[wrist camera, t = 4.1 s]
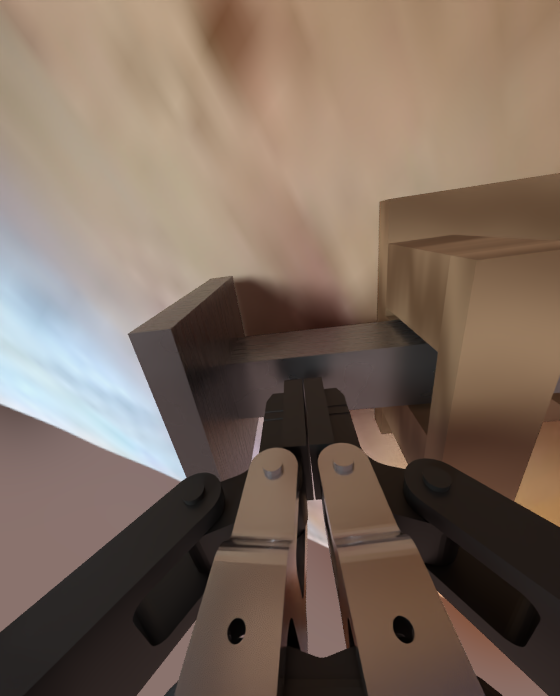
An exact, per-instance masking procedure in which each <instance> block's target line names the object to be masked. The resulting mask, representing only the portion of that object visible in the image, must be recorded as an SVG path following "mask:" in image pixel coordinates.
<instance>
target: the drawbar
mask: <svg viewBox="0 0 560 696" xmlns="http://www.w3.org/2000/svg"><path fill="white" fill-rule="evenodd" d="M128 335H129V338H130V340H131V343H132V345H133V348H134V350H135V352H136V355H137V357H138V360H139V362H140V365H141V367H142V370H143V372H144V375H145V377H146V379H147V382H148V384H149V387H150V389H151V392H152V394H153V397H154V399H155V401H156V404H157V406H158V409H159V411H160V414H161V416H162V419H163V421H164V424H165V426H166V428H167V431H168V433H169V436H170V438H171V441H172V443H173V446H174V448H175V450H176V453H177V455H178V458H179V460H180V463H181V465H182V468H183V470H184V473H185V475H186V477H187V478H188V477H189V476H192V475H194V474H197V473H211V474H213V475H215V476H216V477H217V478H218V479H219V481H220V482H221V481H224V480H227V479H229V478H232V477H235V476H237V475H240V474H242V473H244V472H245V471H247V470H248V469H249V466H250V464H251V460H252V454H253V448H254V442H255V436H256V430H257V425H258V419H259V417H264V415H265V408H266V402H267V401H268V399H269V398H270V397H271V395H272V394H276V393H284V380H292V379H302V382H303V390H304V378H312V377H322V382H323V387H324V389H328V388H337V389H338V390H339V391H340V392H341V393H343V394H344V396H345V399H346V402H347V406H348V409H349V410H355V409H367V408H379V407H392V406H404V405H416V404H428V403H431V402H432V394H433V386H434V379H435V371H436V363H437V356H438V352H437V351H436V350H435V349H434V348H433V347H431V346H430V345H429V344H428V343H427V342H426V341H424V340H423V339H422V338H421V337H420V336H419V335H417V334H416V333H415V332H414V331H413V330H412V329H411V328H409V327H408V326H407V325H406V324H405V323H404V322H402V321H401V320H391V321H382V322H373V323H364V324H355V325H346V326H337V327H328V328H319V329H310V330H301V331H292V332H283V333H274V334H266V335H257V336H248V337H245V334H244V329H243V324H242V320H241V315H240V310H239V305H238V300H237V295H236V291H235V286H234V281H233V276H228V277H221V278H213V279H210V280H208V281H207V282H205V283H204V284H202V285H201V286H199V287H198V288H196V289H195V290H193V291H192V292H190V293H189V294H187V295H186V296H184V297H183V298H181V299H180V300H178V301H177V302H175V303H174V304H172V305H171V306H169V307H168V308H166V309H165V310H163V311H162V312H160V313H159V314H157V315H156V316H154V317H153V318H151V319H150V320H148V321H147V322H145V323H144V324H142V325H141V326H139V327H138V328H136V329H134V330H133V331H131V332H130V333H128ZM554 393H560V376H559V379H558V382H557V384H556V387H555V390H554ZM304 398H305V390H304ZM305 406H306V403H305Z"/></svg>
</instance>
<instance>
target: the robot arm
mask: <svg viewBox="0 0 560 696" xmlns="http://www.w3.org/2000/svg"><path fill="white" fill-rule="evenodd" d="M304 390H305V398H304ZM304 390H303V382H302V379H292V380H284V393H276V394H272V395H271V397H270V398H269V399H268V401H267V402H266V408H265V415H264V422H263V429H262V436H261V443H260V451H259V454H258V455H257V456H256V457H255V458H254V459H253V460H252V462H251V464H250V466H249V469H248V470H247V471H245V472H244V473H242V474H240V475H237V476H235V477H232V478H229V479H227V480H224V481H221V482H220V481H219V479H218V478H217V477H216V476H215V475H213V474H211V473H197V474H194V475H192V476H189V477H188V478H186V479H184V480H183V481H182V482H180V483H179V484H178V485H177V486H176V487H175V488H173V489H172V490H171V491H170V492H168V493H167V494H166V495H165V496H164V497H162V498H161V499H160V500H159V501H158V502H156V503H155V504H154V505H153V506H152V507H150V508H149V509H148V510H147V511H146V512H144V513H143V514H142V515H141V516H140V517H138V518H137V519H136V520H135V521H134V522H132V523H131V524H130V525H129V526H128V527H126V528H125V529H124V530H123V531H122V532H120V533H119V534H118V535H117V536H116V537H114V538H113V539H112V540H111V541H109V542H108V543H107V544H106V545H105V546H103V547H102V548H101V549H100V550H99V551H98V552H96V553H95V554H94V555H93V556H91V557H90V558H89V559H88V560H87V561H86V562H84V563H83V564H82V565H81V566H79V567H78V568H77V569H76V570H75V571H74V572H72V573H71V574H70V575H69V576H67V577H66V578H65V579H64V580H63V581H62V582H60V583H59V584H58V585H57V586H55V587H54V588H53V589H52V590H51V591H49V592H48V593H47V594H46V595H45V596H43V597H42V598H41V599H40V600H39V601H37V602H36V603H35V604H34V605H33V606H31V607H30V608H29V609H28V610H27V611H25V612H24V613H23V614H22V615H21V616H19V617H18V618H17V619H16V620H15V621H13V622H12V623H11V624H10V625H9V626H7V627H6V628H5V629H4V630H3V631H1V632H0V696H137V694H138V693H139V692H140V690H141V689H142V688H143V686H144V685H145V684H146V683H147V681H148V680H149V679H150V678H151V676H152V675H153V674H154V673H155V671H156V670H157V669H158V668H159V666H160V665H161V664H162V662H163V661H164V660H165V659H166V657H167V656H168V655H169V653H170V652H171V651H172V650H173V648H174V647H175V646H176V645H177V643H178V642H179V641H180V640H181V638H182V637H183V636H184V634H185V633H186V632H187V631H188V629H189V628H190V627H191V625H192V624H193V623H194V622H195V620H196V622H195V626H194V629H193V632H192V636H191V639H190V643H189V646H188V650H187V653H186V656H185V660H184V663H183V667H182V670H181V673H180V677H179V680H178V682H177V683H176V684H174V685H173V687H172V688H170V689H169V691H168V692H167V693H166V694H165V695H164V696H502V695H501V694H500V693H499V692H498V691H496V690H495V689H494V688H492V687H491V686H490V685H489V684H487V683H486V682H485V681H484V680H482V679H481V678H479V677H478V676H476V674H475V672H474V670H473V668H472V666H471V664H470V661H469V659H468V657H467V655H466V653H465V651H464V648H463V646H462V644H461V642H460V640H459V638H458V635H457V633H456V631H455V629H454V627H453V625H452V622H451V620H450V618H449V616H448V614H447V612H446V610H445V607H444V605H443V603H442V601H441V599H440V596H439V594H438V592H439V593H440V594H441V595H442V596H443V597H444V598H445V599H447V600H448V601H449V602H450V603H451V604H452V605H453V606H454V607H455V608H456V609H457V610H458V611H459V612H460V613H461V614H462V615H464V616H465V617H466V618H467V619H468V620H469V621H470V622H471V623H472V624H473V625H474V626H475V627H476V628H477V629H478V630H479V631H480V632H482V633H483V634H484V635H485V636H486V637H487V638H488V639H489V640H490V641H491V642H492V643H494V645H495V646H496V647H498V648H499V649H500V650H501V651H502V652H503V653H504V654H505V655H506V656H507V657H508V658H509V659H510V660H511V661H512V662H513V663H514V664H515V665H517V666H518V667H519V668H520V669H521V670H522V671H523V672H524V673H525V674H526V675H527V676H528V677H529V678H530V679H531V680H532V681H534V682H535V683H536V684H537V685H538V686H539V687H540V688H541V689H542V690H543V691H544V692H545V693H546V694H547V695H548V696H560V527H558V526H556V525H555V524H553V523H551V522H549V521H548V520H546V519H544V518H542V517H541V516H539V515H537V514H535V513H533V512H532V511H530V510H528V509H526V508H525V507H523V506H521V505H519V504H518V503H516V502H514V501H512V500H511V499H509V498H507V497H505V496H503V495H502V494H500V493H498V492H496V491H495V490H493V489H491V488H489V487H488V486H486V485H484V484H482V483H481V482H479V481H477V480H475V479H473V478H472V477H470V476H468V475H466V474H465V473H463V472H461V471H459V470H458V469H456V468H454V467H452V466H451V465H449V464H447V463H444V462H442V461H439V460H435V459H429V458H423V459H417V460H414V461H412V462H411V463H409V464H408V465H407V467H406V469H402V468H397V467H392V466H387V465H384V464H381V463H378V462H376V461H374V460H373V459H371V458H370V457H368V456H367V455H366V454H365V452H364V451H363V450H362V449H361V447H360V444H359V441H358V438H357V434H356V431H355V428H354V425H353V422H352V418H351V415H350V412H349V409H348V406H347V402H346V399H345V396H344V394H343V393H341V392H340V391H339V390H338V389H337V388H328V389H324V387H323V382H322V377H312V378H304ZM305 403H306V406H305ZM310 457H311V461H310ZM311 465H312V473H313V481H314V489H315V497H316V500H317V499H322V505H323V514H324V522H325V530H326V535H327V540H328V546H329V551H330V557H331V562H332V567H333V573H334V577H335V584H336V589H337V594H338V600H339V606H340V611H341V617H342V625H343V630H344V637H345V643H346V649H345V650H343V651H340V652H338V653H336V654H333V655H331V656H328V657H325V658H319V657H315V656H313V655H310V654H308V634H307V633H308V632H307V615H306V578H307V520H308V510H307V500H314V497H313V485H312V473H311ZM437 591H438V592H437Z"/></svg>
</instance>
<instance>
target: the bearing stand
mask: <svg viewBox="0 0 560 696" xmlns="http://www.w3.org/2000/svg"><path fill="white" fill-rule="evenodd" d="M391 320H401V321H402V322H404V323H405V324H406V325H407V326H408V327H409V328H411V329H412V330H413V331H414V332H415V333H416V334H417V335H419V336H420V337H421V338H422V339H423V340H424V341H426V342H427V343H428V344H429V345H430V346H431V347H433V348H434V349H435V350H436V351H437V352H438V356H437V363H436V371H435V379H434V386H433V394H432V402H431V403H428V404H416V405H404V406H392V407H379V408H375V420H376V423H377V425H378V427H379V429H380V432H381V434H386V433H393V435H394V437H395V439H396V441H397V443H398V445H399V447H400V449H401V451H402V453H403V455H404V457H405V459H406V461H407V463H408V464H409V463H411V462H412V461H414V460H417V459H423V458H429V459H435V460H439V461H442V462H444V463H447V464H449V465H451V466H452V467H454V468H456V469H458V470H459V471H461V472H463V473H465V474H466V475H468V476H470V477H472V478H473V479H475V480H477V481H479V482H481V483H482V484H484V485H486V486H488V487H489V488H491V489H493V490H495V491H496V492H498V493H500V494H502V495H503V496H505V497H507V498H509V499H511V500H512V501H514V500H515V497H516V494H517V492H518V489H519V486H520V483H521V481H522V478H523V475H524V472H525V470H526V467H527V464H528V461H529V459H530V456H531V453H532V450H533V448H534V445H535V442H536V439H537V437H538V434H539V431H540V428H541V426H542V423H543V422H550V421H560V393H554V390H555V387H556V384H557V382H558V379H559V376H560V173H558V174H551V175H544V176H538V177H531V178H525V179H518V180H512V181H505V182H499V183H492V184H486V185H479V186H473V187H466V188H460V189H453V190H447V191H440V192H433V193H427V194H420V195H414V196H407V197H401V198H394V199H389V200H385V201H381V202H380V210H379V256H378V302H377V322H382V321H391Z"/></svg>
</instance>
